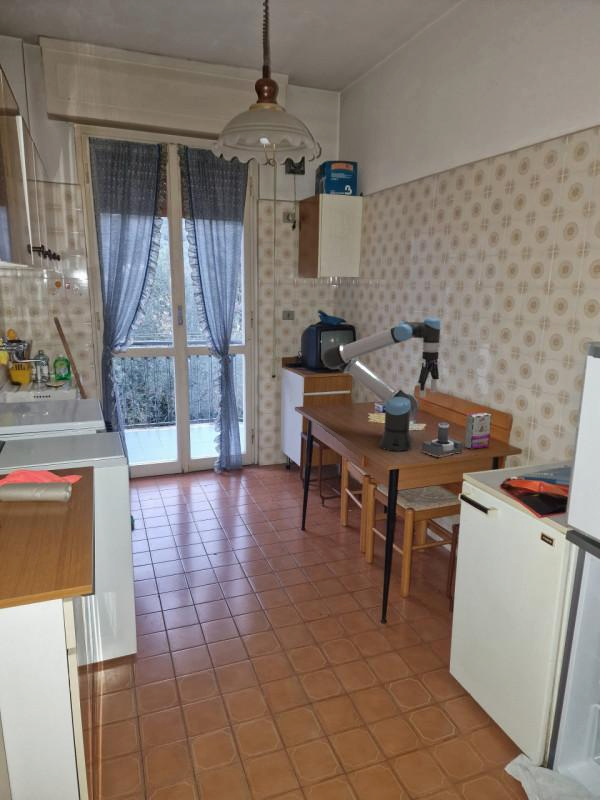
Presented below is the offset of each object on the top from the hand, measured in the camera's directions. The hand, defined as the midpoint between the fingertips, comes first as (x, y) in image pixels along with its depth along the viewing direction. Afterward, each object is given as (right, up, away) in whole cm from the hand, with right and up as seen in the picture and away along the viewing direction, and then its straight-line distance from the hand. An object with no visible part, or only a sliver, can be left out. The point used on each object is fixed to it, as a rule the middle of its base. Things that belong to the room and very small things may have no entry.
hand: (427, 394), depth 262 cm
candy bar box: (+23, -26, -1) cm, 35 cm away
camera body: (+4, -27, -9) cm, 29 cm away
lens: (+4, -25, -10) cm, 27 cm away
